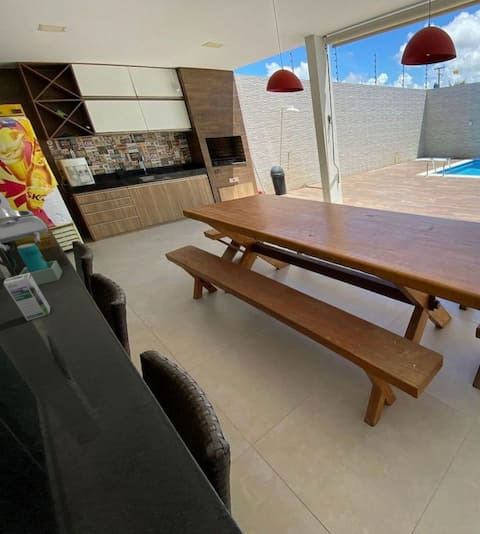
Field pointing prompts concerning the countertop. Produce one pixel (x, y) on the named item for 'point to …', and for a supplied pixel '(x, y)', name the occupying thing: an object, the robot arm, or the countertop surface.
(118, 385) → the countertop surface
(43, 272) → the bin
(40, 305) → the syrup box
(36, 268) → the teal tall block
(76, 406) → the countertop surface
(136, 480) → the countertop surface
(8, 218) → the robot arm
